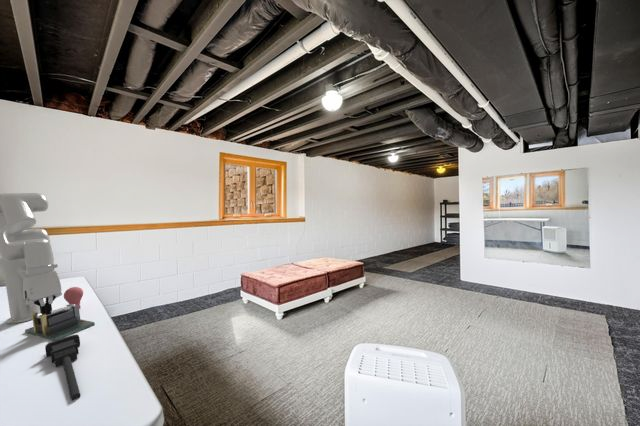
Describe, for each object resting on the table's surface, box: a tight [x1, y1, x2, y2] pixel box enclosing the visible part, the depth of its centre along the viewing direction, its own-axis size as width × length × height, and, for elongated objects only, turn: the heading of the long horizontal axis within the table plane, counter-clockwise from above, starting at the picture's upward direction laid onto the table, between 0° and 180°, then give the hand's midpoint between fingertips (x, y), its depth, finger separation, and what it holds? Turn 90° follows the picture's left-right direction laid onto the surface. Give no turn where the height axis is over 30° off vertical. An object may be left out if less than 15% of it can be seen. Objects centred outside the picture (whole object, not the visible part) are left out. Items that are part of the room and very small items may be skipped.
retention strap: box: [37, 304, 75, 319], centre depth 112 cm, size 3×12×2 cm, turn 157°
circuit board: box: [24, 303, 96, 341], centre depth 112 cm, size 24×13×9 cm, turn 67°
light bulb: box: [63, 286, 84, 310], centre depth 131 cm, size 7×7×12 cm
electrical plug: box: [44, 334, 81, 401], centre depth 83 cm, size 9×42×5 cm, turn 48°
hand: (46, 314), depth 108 cm, fingers closed
